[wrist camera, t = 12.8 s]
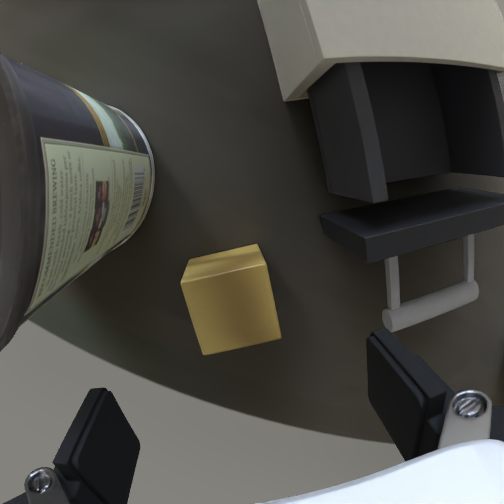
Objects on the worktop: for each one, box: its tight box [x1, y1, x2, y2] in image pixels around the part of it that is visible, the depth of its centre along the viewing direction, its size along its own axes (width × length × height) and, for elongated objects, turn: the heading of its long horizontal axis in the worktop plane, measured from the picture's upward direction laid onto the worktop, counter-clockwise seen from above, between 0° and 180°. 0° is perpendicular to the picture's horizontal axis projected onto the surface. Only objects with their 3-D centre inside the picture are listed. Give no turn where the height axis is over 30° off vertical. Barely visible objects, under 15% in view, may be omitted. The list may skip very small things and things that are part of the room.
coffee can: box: [0, 53, 155, 351], centre depth 12 cm, size 10×10×14 cm
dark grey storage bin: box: [307, 62, 504, 333], centre depth 16 cm, size 19×11×7 cm, turn 12°
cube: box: [180, 244, 282, 355], centre depth 19 cm, size 4×4×4 cm
